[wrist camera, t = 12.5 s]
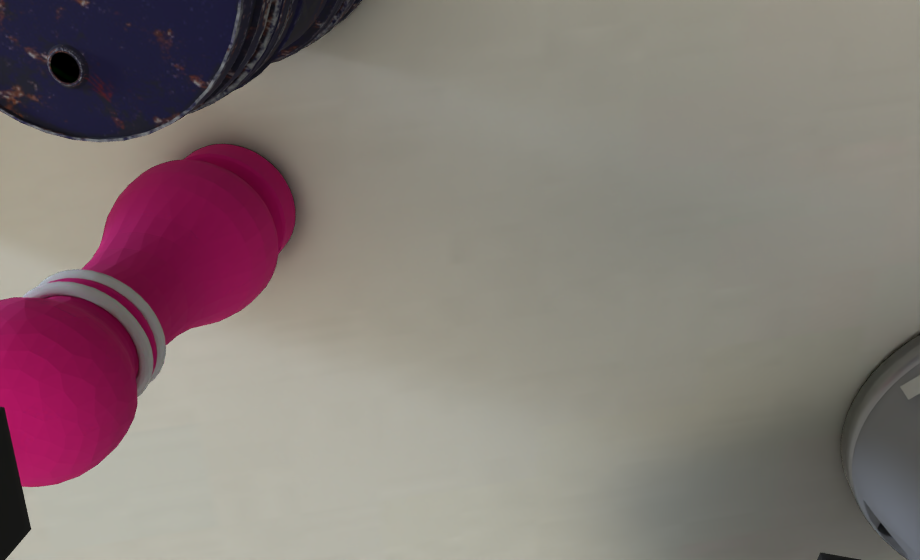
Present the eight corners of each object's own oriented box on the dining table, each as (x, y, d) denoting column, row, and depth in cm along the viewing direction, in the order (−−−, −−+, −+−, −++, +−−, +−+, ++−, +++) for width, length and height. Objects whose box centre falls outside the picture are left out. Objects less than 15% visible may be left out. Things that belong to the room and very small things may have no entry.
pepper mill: (304, 140, 36) (40, 388, 19) (308, 277, 40) (89, 596, 22) (156, 125, 37) (-232, 350, 19) (173, 261, 40) (-144, 557, 23)
